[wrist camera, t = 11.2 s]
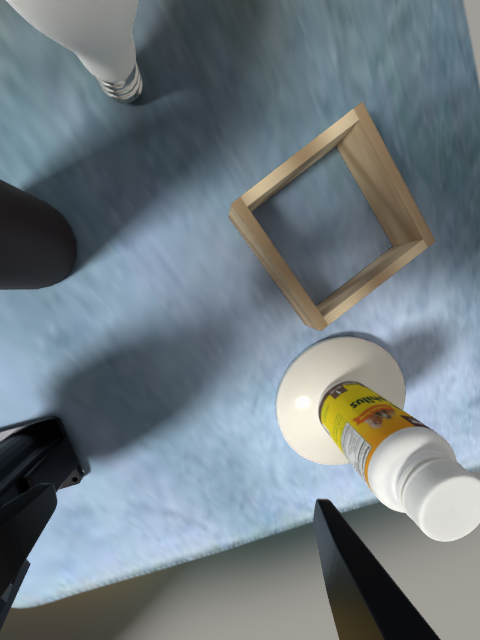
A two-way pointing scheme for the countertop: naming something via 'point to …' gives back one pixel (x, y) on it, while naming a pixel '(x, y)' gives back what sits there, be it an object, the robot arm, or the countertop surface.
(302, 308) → the bin frame
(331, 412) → the supplement bottle
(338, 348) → the plate
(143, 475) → the countertop surface
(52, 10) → the light bulb
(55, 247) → the vinegar
